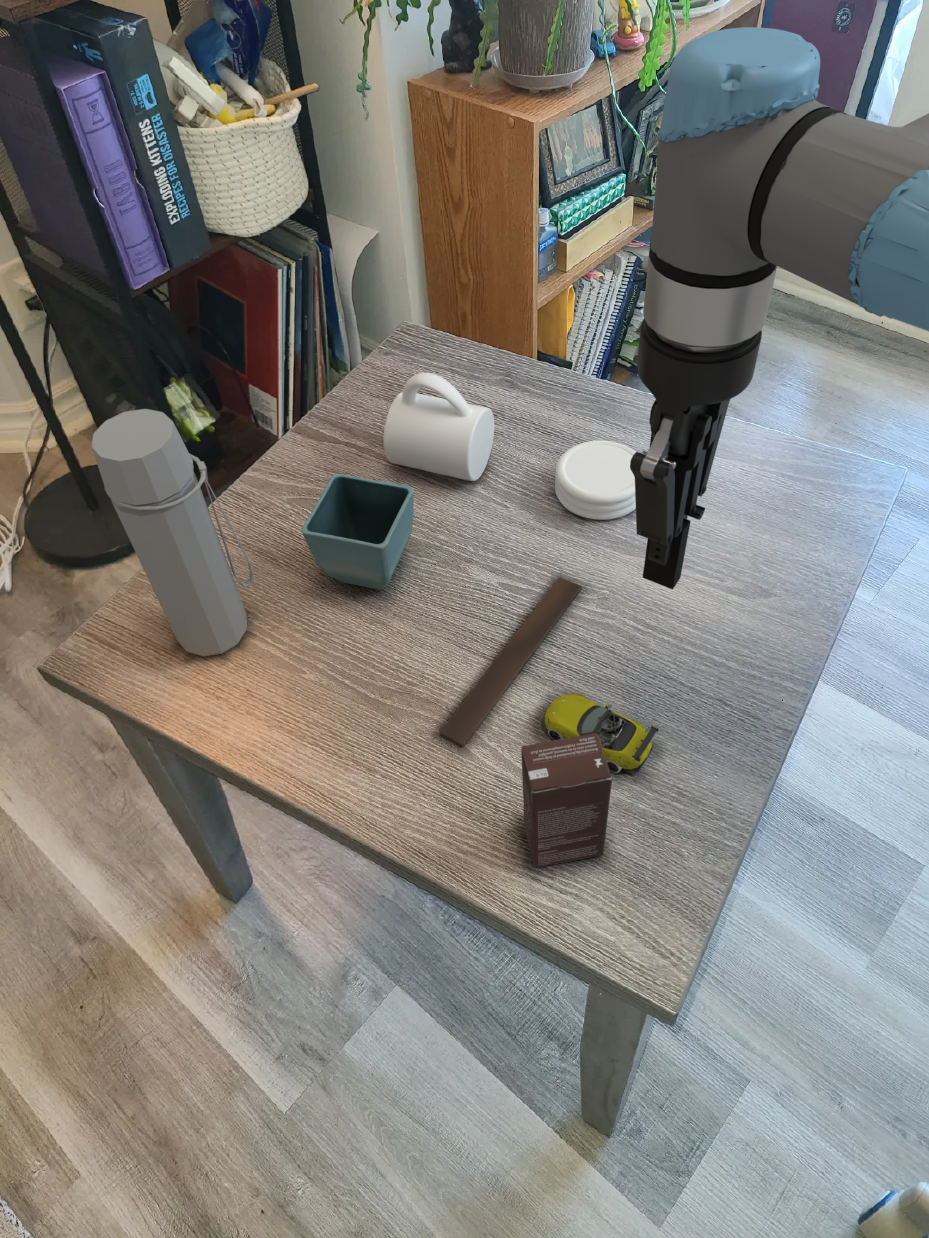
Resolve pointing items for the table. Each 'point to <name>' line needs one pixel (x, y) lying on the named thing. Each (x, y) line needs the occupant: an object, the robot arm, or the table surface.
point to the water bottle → (172, 528)
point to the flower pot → (360, 529)
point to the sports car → (600, 730)
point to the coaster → (596, 480)
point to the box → (565, 799)
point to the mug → (438, 430)
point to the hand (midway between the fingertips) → (661, 577)
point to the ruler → (509, 663)
